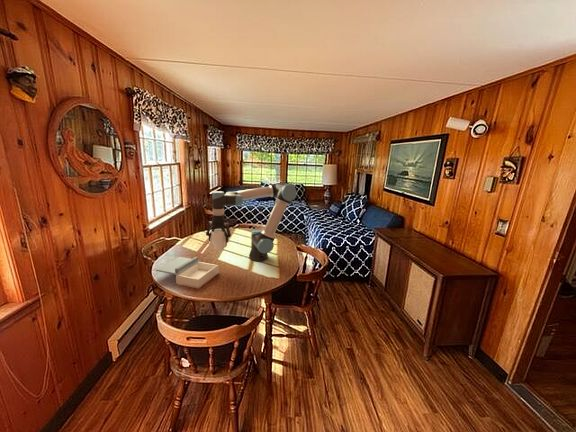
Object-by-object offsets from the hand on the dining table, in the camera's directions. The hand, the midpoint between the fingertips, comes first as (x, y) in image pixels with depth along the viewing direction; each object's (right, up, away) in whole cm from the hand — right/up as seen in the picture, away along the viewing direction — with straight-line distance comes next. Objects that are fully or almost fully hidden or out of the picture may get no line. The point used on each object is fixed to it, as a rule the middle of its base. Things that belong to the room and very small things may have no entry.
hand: (218, 245), depth 165 cm
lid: (-25, -13, -6) cm, 29 cm away
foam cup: (0, -2, +1) cm, 2 cm away
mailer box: (-10, -20, -9) cm, 24 cm away
